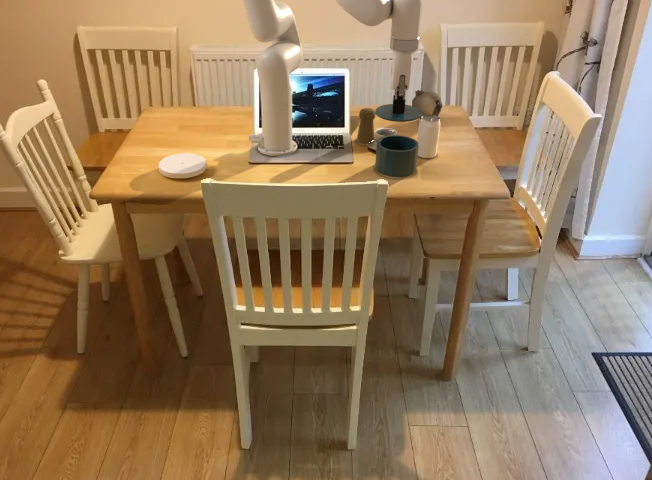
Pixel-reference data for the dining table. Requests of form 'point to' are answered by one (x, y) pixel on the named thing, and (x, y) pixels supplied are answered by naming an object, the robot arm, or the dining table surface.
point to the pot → (396, 156)
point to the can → (428, 136)
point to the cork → (366, 126)
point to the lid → (387, 114)
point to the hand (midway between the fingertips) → (398, 110)
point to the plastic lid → (182, 165)
